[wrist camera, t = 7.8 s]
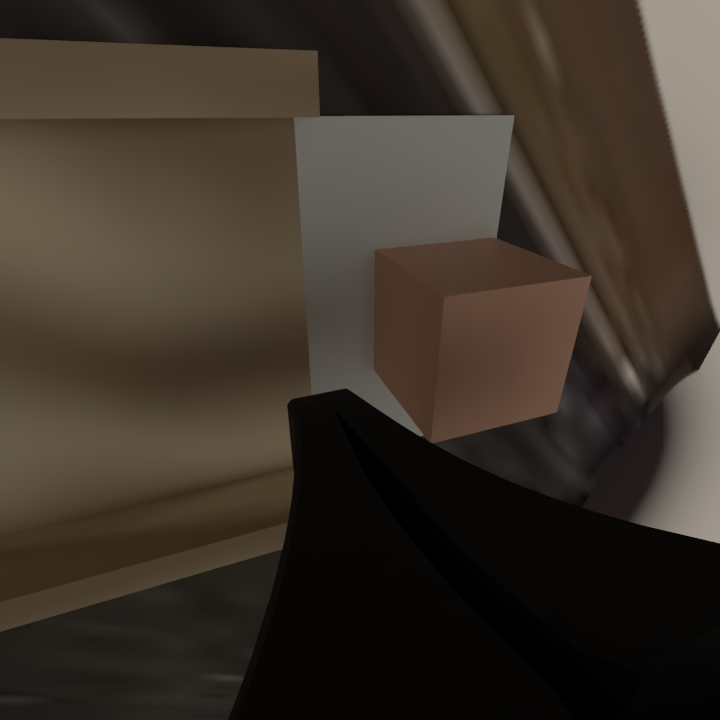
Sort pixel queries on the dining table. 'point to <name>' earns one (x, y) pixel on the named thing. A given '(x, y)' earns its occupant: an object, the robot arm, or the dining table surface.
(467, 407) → the terracotta cube
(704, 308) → the dining table surface
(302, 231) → the grey panel
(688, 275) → the dining table surface
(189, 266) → the tray
